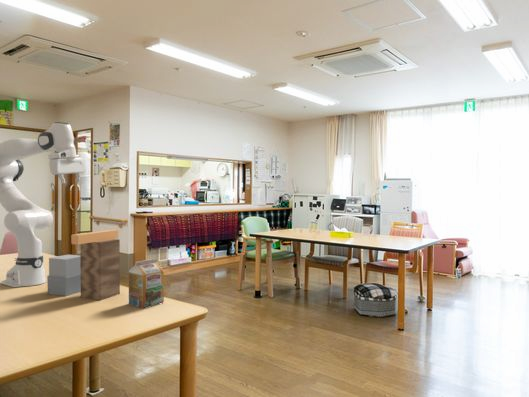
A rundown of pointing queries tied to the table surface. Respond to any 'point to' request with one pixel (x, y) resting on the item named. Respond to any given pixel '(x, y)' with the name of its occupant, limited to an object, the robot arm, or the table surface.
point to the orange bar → (94, 236)
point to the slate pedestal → (64, 275)
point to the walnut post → (100, 269)
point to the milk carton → (146, 284)
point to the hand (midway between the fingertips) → (71, 182)
